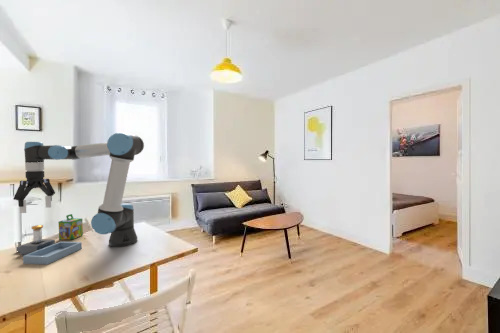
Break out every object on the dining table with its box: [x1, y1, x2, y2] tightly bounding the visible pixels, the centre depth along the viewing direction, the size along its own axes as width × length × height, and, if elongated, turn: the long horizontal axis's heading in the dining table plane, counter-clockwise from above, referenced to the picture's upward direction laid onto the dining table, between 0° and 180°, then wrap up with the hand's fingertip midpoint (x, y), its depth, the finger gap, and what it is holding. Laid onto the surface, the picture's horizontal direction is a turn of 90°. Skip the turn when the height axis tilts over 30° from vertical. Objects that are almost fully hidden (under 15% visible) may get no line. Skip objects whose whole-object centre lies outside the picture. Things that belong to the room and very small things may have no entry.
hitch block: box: [15, 238, 56, 256], centre depth 129 cm, size 10×16×5 cm, turn 83°
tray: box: [22, 241, 83, 265], centre depth 124 cm, size 20×13×4 cm, turn 173°
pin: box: [31, 224, 44, 244], centre depth 129 cm, size 5×5×14 cm
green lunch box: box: [58, 213, 84, 241], centre depth 152 cm, size 9×9×15 cm
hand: (36, 210), depth 128 cm, fingers open, 13 cm apart
